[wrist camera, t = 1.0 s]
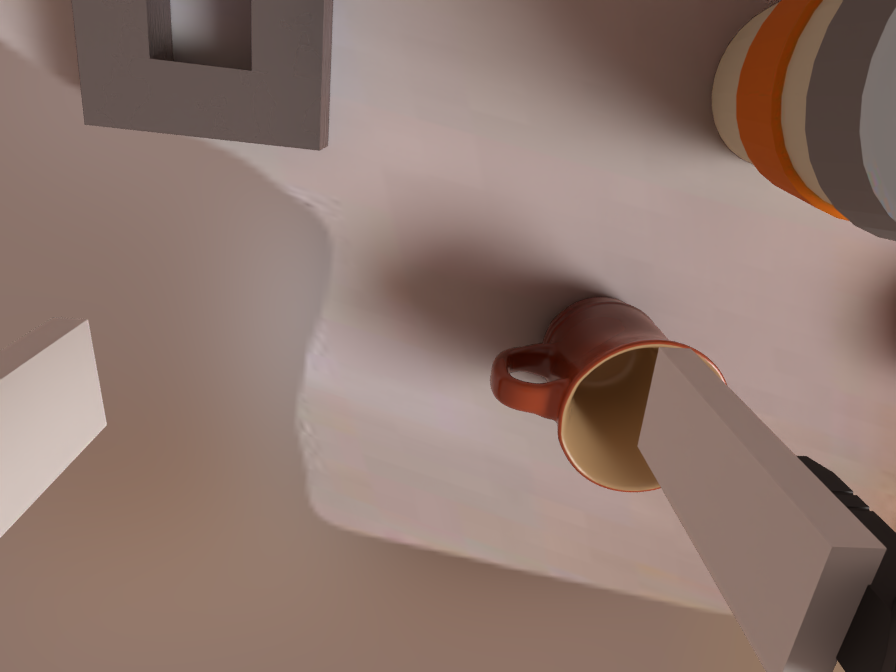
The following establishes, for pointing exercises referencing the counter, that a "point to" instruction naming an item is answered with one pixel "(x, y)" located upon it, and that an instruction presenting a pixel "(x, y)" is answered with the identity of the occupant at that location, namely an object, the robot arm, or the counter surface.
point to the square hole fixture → (207, 74)
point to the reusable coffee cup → (817, 105)
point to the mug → (592, 387)
